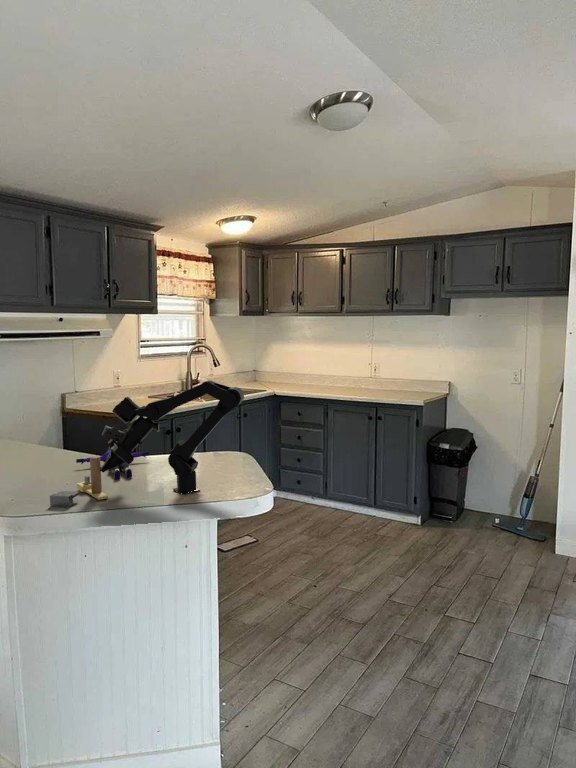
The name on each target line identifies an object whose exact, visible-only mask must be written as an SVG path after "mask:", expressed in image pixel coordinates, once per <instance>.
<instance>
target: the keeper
mask: <svg viewBox="0 0 576 768" xmlns="http://www.w3.org/2000/svg"><path fill="white" fill-rule="evenodd" d="M80 494H81V491H77V490H76V491H74V490H72V491H71V490H69V491H68V490H61V491H59V492H57V493H52V494H51V495H49V504H50V506H49V507H56V508H59V507H60V508H71V507H72V506H73V505H74V500H73V499H75V498H76V497H78V496H79V495H80Z"/></svg>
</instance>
